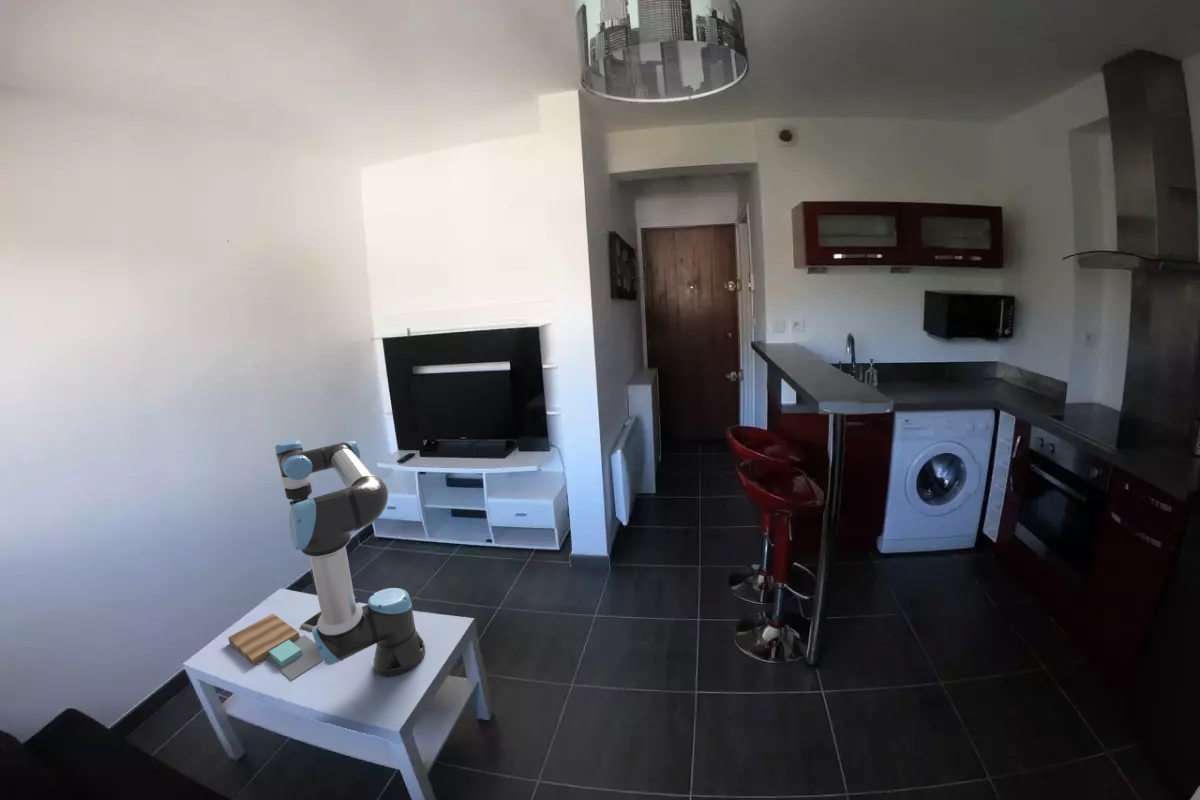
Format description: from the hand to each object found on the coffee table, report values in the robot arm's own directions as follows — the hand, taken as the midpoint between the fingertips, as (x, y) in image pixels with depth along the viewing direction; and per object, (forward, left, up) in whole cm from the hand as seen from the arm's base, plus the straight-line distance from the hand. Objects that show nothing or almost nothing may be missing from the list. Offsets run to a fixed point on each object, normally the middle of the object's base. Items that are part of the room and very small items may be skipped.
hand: (311, 546), depth 165 cm
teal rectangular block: (-7, +17, -29) cm, 34 cm away
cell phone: (+2, +2, -30) cm, 30 cm away
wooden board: (+8, +18, -29) cm, 35 cm away
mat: (-11, +15, -29) cm, 35 cm away
